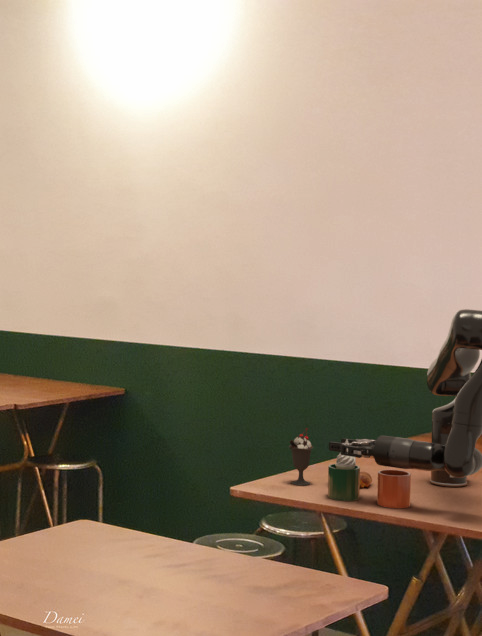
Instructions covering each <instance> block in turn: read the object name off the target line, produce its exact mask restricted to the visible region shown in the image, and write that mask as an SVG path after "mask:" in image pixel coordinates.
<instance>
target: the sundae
mask: <svg viewBox="0 0 482 636" xmlns="http://www.w3.org/2000/svg"><path fill="white" fill-rule="evenodd" d="M308 430H309V428H308V427H306V428H305V430H304V431H303V432H302V433H300V434H299V435H298V436H296V437H295V438H294V440H293V439H291V440H290V441H289V444H290V445H288V448H289V450H291V456H292V457H291V458H292V463H293V467H294V468H295V469H296V471H298V477H297V479H296V480H293V481H291V485H295V486H309V485H310V484H311V482H309V481H307V480H305V479H304V472H305V470H307V468H308V467H309V466H310V460H311V454H312V450H313V449H314V448H315V447H314V446H313V445H312V443H311V441H310V440H309V436H308V433H307V431H308ZM304 434H305V436H304Z"/></svg>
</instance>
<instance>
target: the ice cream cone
mask: <svg viewBox="0 0 482 636" xmlns="http://www.w3.org/2000/svg"><path fill="white" fill-rule="evenodd" d="M345 439H346V442H345V443H348V440H347V439H348V438H345ZM347 451H348V448H347ZM356 458H357V457H352V456H346V455H341V452H339V453H338V455H336V461H335V463H334V464H335V465H336V468H337V469H354V468H355V465H357V462H356V460H357V459H356Z"/></svg>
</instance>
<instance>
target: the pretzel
mask: <svg viewBox="0 0 482 636" xmlns="http://www.w3.org/2000/svg"><path fill="white" fill-rule="evenodd" d="M372 482H373V477H372V476H371V474H370V473H369V472H366V471H360V488H367V487H369V486H370V485H371V483H372Z"/></svg>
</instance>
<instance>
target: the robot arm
mask: <svg viewBox="0 0 482 636" xmlns="http://www.w3.org/2000/svg"><path fill="white" fill-rule="evenodd" d="M480 351H482V310H481V309H467V308H466V309H464V308H463V309H459V310H457V311H456V312H455V313H454V315H453V317H452V319H451V322H450V325H449V329H448V332H447V336H446V338H445V340H444V341H443V344H442V345H441V347H440V349H439V351H438V355H437V357H435V359H434V360H433V361H432V362H431V363H430V365H429V367H428V369H427V372H426V373H427V374H426V385H427V389H428V390H429V392H430V393H431V394H433V395H435V396H442V397H443V396H445V397H455V398H454V399H453V400H452V401H451V402H449V403H447V404H445V405H442V406H439V407H436V408H434V409H433V410H432V413H431V442H430V441H424V440H423V441H422V440H415V439H412V438H407V437H399V436H392V435H391V436H390V435H383V434H382V435H379V436H378V437H377V438H376V439H371V438H370V439H369V438H361V439H359V438H356V439H350V438H341V439H340V442H336V441H330V442H328V451H330V452H338V453H341V455H346V456H352V457H355V458H357V459H361V458H366V459H369V458H371V457H373V459H374V462H375V463H376V465H377V466H380V467H381V466H382V467H388V468H395V469H401V470H402V469H403V470H416V471H423V472H430V480H429V482H430V483H431V484H433V485H435V486H440V487H450V488H457V487H458V488H459V487H465V486H467V485H468V481H467V479H468V476H472V475H474V474H476V473H478V472H479V471H480V470H481V469H482V452H481V451H480V450H479V449H478V448H476V444H477V441H478V439H479V438H480V437H481V436H482V358H481V359H480V356H481V352H480ZM479 360H480V362H479ZM478 362H479V365H478V366H477V368H476V369H475V367H476V365H477V364H478ZM474 369H475V371H474V372H473V373H472V374H471V372H472V371H473V370H474ZM346 439H347V440H348V443H345V442H346ZM347 448H348V451H347Z"/></svg>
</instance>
